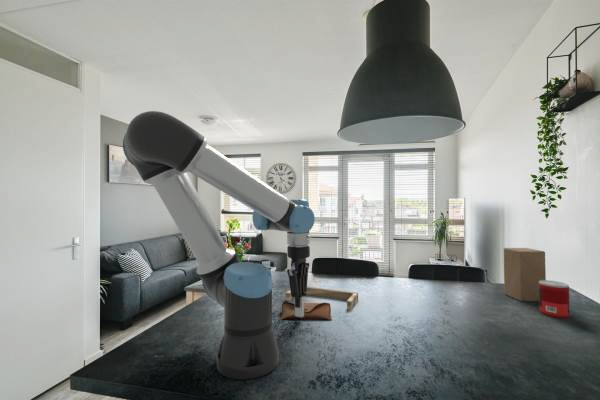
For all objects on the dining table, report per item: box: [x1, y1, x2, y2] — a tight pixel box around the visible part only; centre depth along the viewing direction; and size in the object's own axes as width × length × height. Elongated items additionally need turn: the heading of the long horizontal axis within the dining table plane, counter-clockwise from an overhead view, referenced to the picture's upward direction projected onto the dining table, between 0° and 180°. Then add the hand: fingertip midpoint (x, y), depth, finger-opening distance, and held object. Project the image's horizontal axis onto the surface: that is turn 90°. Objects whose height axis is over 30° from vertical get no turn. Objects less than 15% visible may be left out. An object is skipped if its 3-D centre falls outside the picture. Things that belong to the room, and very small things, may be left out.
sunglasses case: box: [280, 301, 332, 321], centre depth 101 cm, size 18×7×7 cm
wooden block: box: [503, 247, 547, 302], centre depth 119 cm, size 10×10×20 cm
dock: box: [285, 286, 359, 311], centre depth 117 cm, size 12×27×3 cm, turn 66°
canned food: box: [538, 279, 571, 319], centre depth 101 cm, size 8×8×11 cm
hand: (299, 315), depth 96 cm, fingers closed
